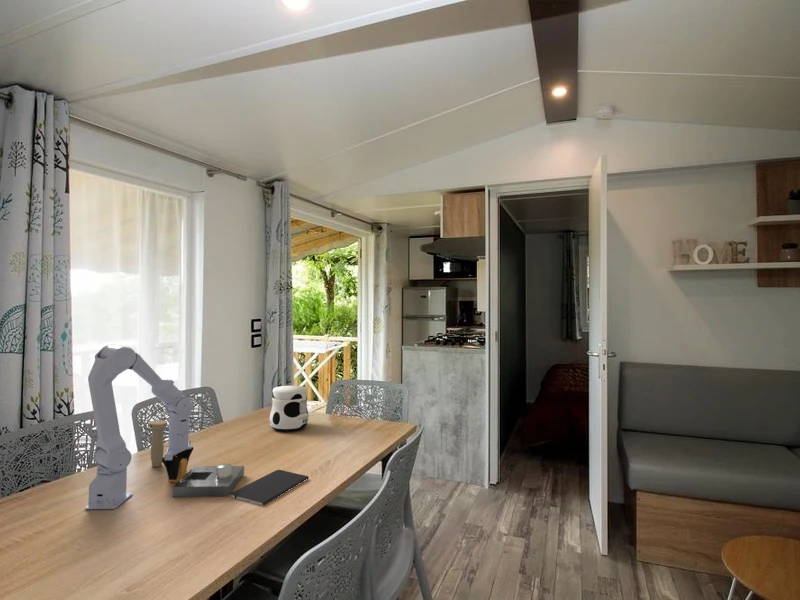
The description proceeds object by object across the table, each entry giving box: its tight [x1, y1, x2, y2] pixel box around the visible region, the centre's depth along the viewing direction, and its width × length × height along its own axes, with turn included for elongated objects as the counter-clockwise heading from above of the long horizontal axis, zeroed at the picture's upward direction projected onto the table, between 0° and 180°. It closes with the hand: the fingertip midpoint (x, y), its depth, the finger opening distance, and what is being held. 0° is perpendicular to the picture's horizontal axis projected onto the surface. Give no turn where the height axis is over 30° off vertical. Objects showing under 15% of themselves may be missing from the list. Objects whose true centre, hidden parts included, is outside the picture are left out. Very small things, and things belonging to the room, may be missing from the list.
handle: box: [147, 419, 168, 468], centre depth 152 cm, size 5×6×15 cm
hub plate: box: [171, 463, 245, 498], centre depth 136 cm, size 16×16×6 cm
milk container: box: [269, 385, 310, 432], centre depth 200 cm, size 17×17×18 cm
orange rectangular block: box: [167, 459, 188, 483], centre depth 141 cm, size 4×4×6 cm
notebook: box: [230, 469, 309, 506], centre depth 136 cm, size 13×2×21 cm
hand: (177, 474), depth 141 cm, fingers open, 6 cm apart
